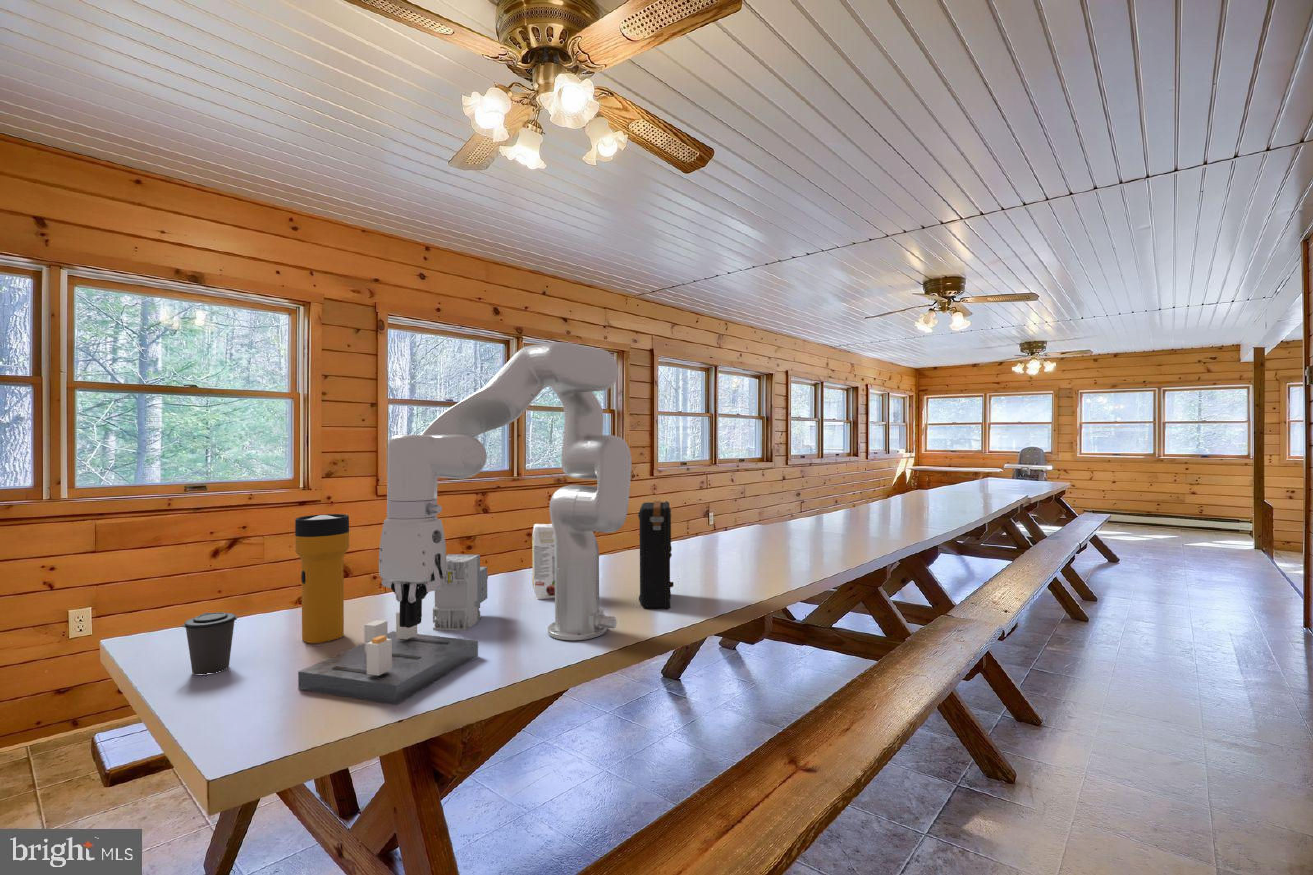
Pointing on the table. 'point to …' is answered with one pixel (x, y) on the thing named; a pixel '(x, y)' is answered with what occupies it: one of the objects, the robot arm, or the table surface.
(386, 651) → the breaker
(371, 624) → the block
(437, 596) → the circuit breaker
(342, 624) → the flashlight
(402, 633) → the block
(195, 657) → the coffee cup
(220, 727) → the table surface
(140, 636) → the table surface
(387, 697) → the grey slider panel
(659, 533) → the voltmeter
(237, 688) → the table surface
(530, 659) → the table surface
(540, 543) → the juice carton
